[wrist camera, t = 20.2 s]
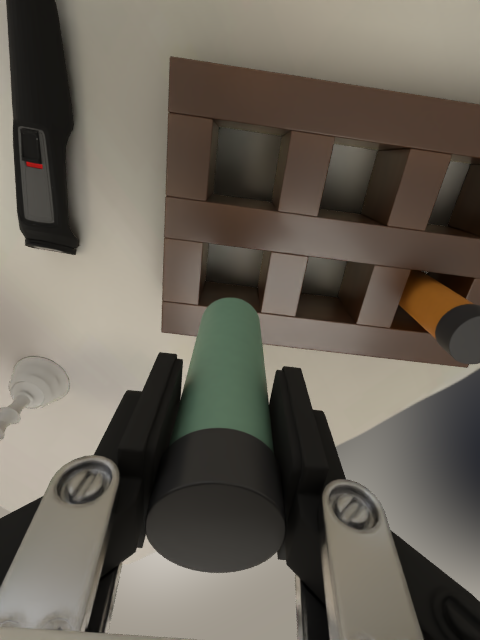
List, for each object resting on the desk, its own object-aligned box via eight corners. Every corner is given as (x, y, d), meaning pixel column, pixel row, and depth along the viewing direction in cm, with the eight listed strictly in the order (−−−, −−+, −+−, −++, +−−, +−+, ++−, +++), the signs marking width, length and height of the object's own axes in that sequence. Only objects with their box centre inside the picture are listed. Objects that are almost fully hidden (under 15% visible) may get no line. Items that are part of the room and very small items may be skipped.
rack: (185, 77, 21) (169, 55, 17) (520, 129, 22) (591, 121, 18) (174, 304, 28) (161, 332, 23) (432, 335, 29) (467, 368, 24)
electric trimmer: (80, -3, 20) (52, -32, 17) (83, 254, 26) (63, 266, 23) (13, -19, 19) (-27, -51, 16) (33, 246, 26) (7, 256, 23)
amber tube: (386, 258, 26) (463, 311, 17) (423, 263, 26) (519, 318, 17) (375, 294, 27) (440, 361, 18) (410, 299, 27) (493, 367, 18)
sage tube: (201, 290, 15) (144, 475, 6) (266, 299, 16) (299, 489, 6) (197, 347, 17) (143, 568, 8) (256, 354, 17) (274, 578, 8)
